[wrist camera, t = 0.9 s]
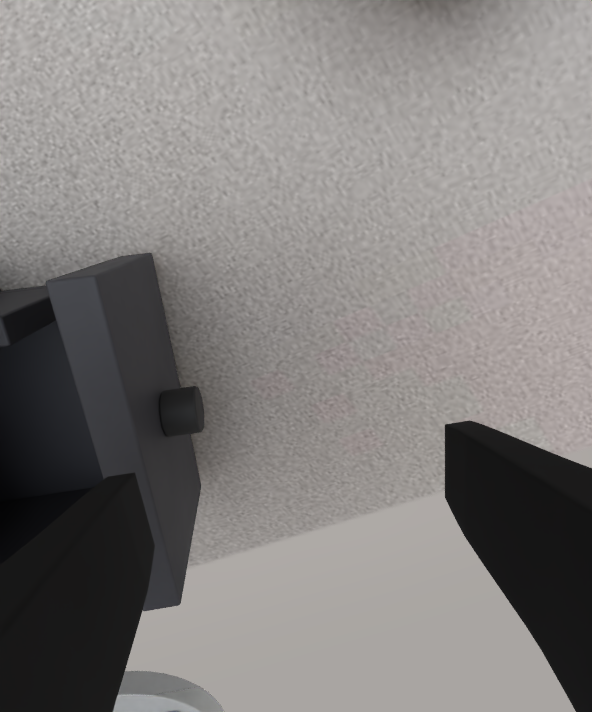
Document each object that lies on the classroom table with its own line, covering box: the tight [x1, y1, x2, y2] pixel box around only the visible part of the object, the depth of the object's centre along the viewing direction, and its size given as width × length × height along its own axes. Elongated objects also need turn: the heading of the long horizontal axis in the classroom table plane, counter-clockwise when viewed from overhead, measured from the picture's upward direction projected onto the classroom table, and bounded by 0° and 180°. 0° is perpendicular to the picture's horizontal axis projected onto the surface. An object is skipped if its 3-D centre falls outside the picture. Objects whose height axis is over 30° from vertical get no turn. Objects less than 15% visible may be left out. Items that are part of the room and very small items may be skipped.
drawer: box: [0, 253, 204, 611], centre depth 14 cm, size 13×10×6 cm
